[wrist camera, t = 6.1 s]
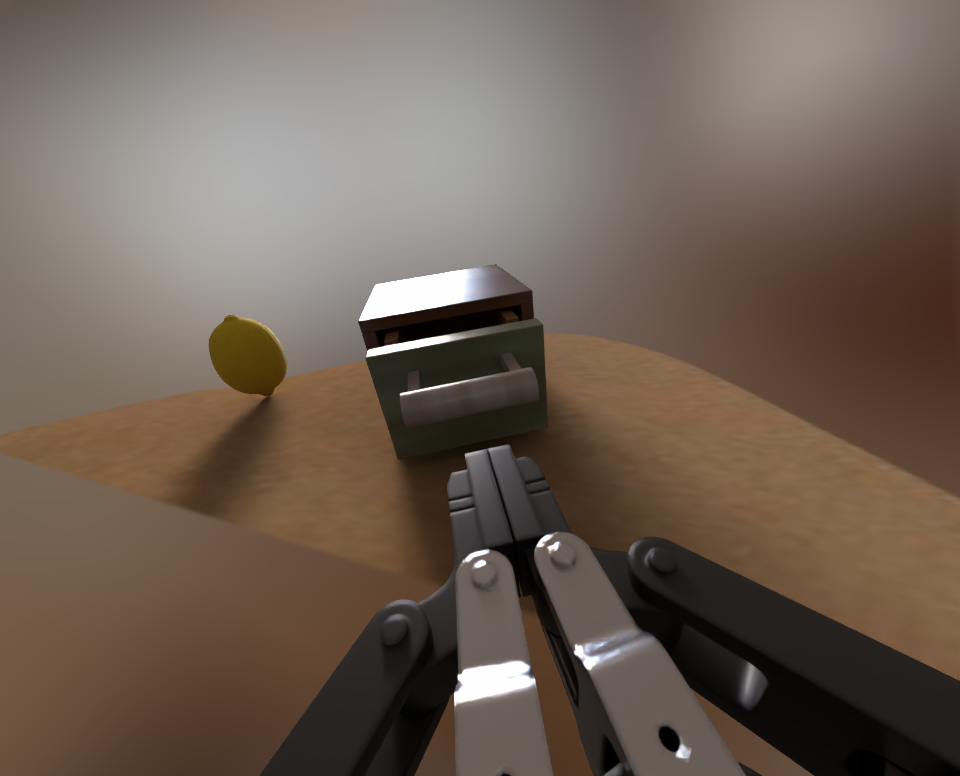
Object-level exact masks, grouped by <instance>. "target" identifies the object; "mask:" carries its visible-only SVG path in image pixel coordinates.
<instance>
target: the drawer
mask: <svg viewBox="0 0 960 776" xmlns="http://www.w3.org/2000/svg"><path fill="white" fill-rule="evenodd" d="M384 344H385V346H384V347H379V348H374V349H369V350H368V352H367V355H366V361H367V364H368V368H369V371H370V374H371V377H372V380H373V383H374V386H375V389H376V392H377V395H378V398H379V402H380V405H381V408H382V411H383V414H384V417H385V420H386V423H387V426H388V429H389V432H390V435H391V439H392V442H393V445H394V448H395V451H396V454H397V457H398V459H404V458H409V457H413V456H418V455H423V454H427V453H432V452H436V451H441V450H446V449H450V448H455V447H460V446H464V445H469V444H474V443H478V442H483V441H488V440H492V439H497V438H501V437H506V436H511V435H515V434H520V433H525V432H529V431H534V430H539V429H543V428H547V427H548V419H547V398H546V376H545V354H544V333H543V324H542V323H541V322H540V321H539V320H537V319H536V318H534V319H529V320H523V321H518V317H517V315H516V314H515V313H514V312H513V311H512V310H511V309H510V308H509V307H506V308H500V309H495V310H489V311H484V312H478V313H473V314H467V315H462V316H457V317H451V318H446V319H440V320H435V321H429V322H424V323H418V324H413V325H407V326H402V327H396V328H391V329H387V330H386V335H385V340H384Z"/></svg>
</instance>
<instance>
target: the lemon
mask: <svg viewBox="0 0 960 776" xmlns="http://www.w3.org/2000/svg"><path fill="white" fill-rule="evenodd" d="M209 352H210V356H211V360H212V363H213V365H214V368H215V370H216V371H217V373H218V374H219V376H220V377H221V378H222V380H223V381H224V382H225V383H226V384H228V385H229V386H230V387H232V388H234V389H235V390H237V391H240V392H243V393H247V394H260V395H263V396H270V395H272V394H273V391H274V389H275V387H277V386H278V385H279V384H280V383H281V382H282V381H283V379H284V377H285V375H286V371H287V361H286V356H285V352H284V350H283V347H282V345H281V343H280V342H279V340H278V339H277V337H276V336H275V335H274V334H273V332H272V331H271V330H270V329H269V328H268V327H266V326H265V325H263V324H261V323H259V322H257V321H255V320H252V319H248V318H239V317H237V316H235V315H229V316H226V317H225V319H224V321H223V322H222V323H221V324H220V325H218V326H217V327H216V328H215V329H214V331H213V332H212V334H211V336H210V339H209Z"/></svg>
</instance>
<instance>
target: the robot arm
mask: <svg viewBox="0 0 960 776" xmlns="http://www.w3.org/2000/svg"><path fill="white" fill-rule="evenodd" d="M487 451H488V454H487ZM487 451H486V449H484V450H479V451H475V452H470V453H465V459H466V464H467V470H463V471H458V472H454V473H451V476H450V478H449V481H448V484H447V494H448V501H449V502H448V503H449V511H450V520H451V528H452V537H453V545H454V554H455V564H454V568H453V572H452V574H451V576H450V578H449V579H448V581H447V582H446V583H445V584H444V586H442V587H441V588H440V589H439V590H438V591H436V592H435V593H434V594H432V595H430V596H429V597H427V598H426V599H424V600H423V601H421V602H419V603H418V604H417V603H415V602H413V601H410V600H398V601H394V602H392V603H390V604H388V605H386V606H384V607H383V608H382V609H380V611H378V612H377V613H376V614H375V616H374V617H373V618H372V619H371V621H370V622H369V624H368V625H367V626H366V628H365V629H364V630H363V632H362V633H361V635H360V636H359V637H358V639H357V640H356V642H355V643H354V644H353V646H352V647H351V649H350V650H349V651H348V653H347V654H346V656H345V657H344V658H343V660H342V661H341V663H340V664H339V665H338V667H337V668H336V670H335V671H334V672H333V674H332V675H331V677H330V678H329V679H328V681H327V682H326V684H325V685H324V686H323V688H322V689H321V691H320V692H319V693H318V695H317V696H316V698H315V699H314V700H313V702H312V703H311V704H310V706H309V707H308V709H307V710H306V712H305V713H304V714H303V716H302V717H301V718H300V720H299V721H298V723H297V724H296V726H295V727H294V728H293V730H292V731H291V732H290V734H289V735H288V737H287V738H286V739H285V741H284V742H283V744H282V745H281V746H280V748H279V749H278V751H277V752H276V753H275V755H274V756H273V757H272V759H271V760H270V762H269V763H268V764H267V766H266V767H265V769H264V770H263V772H262V773H261V774H260V776H414V774H415V773H416V771H417V768H418V766H419V764H420V762H421V760H422V758H423V755H424V753H425V751H426V749H427V747H428V745H429V743H430V740H431V738H432V736H433V734H434V732H435V730H436V728H437V725H438V723H439V721H440V719H441V717H442V714H443V713H444V710H445V708H446V706H447V703H448V701H449V697H450V696H451V695H452V694H453V693H455V703H454V709H455V710H454V711H455V756H456V776H554V775H553V770H552V765H551V760H550V755H549V749H548V745H547V739H546V734H545V729H544V723H543V718H542V713H541V708H540V703H539V697H538V692H537V687H536V682H535V678H534V673H533V670H532V666H531V661H530V656H529V650H528V645H527V640H526V635H525V630H524V624H523V619H522V614H521V608H520V603H519V598H520V597H521V595H520V588H519V584H520V587H521V591H522V594H523V597H524V596H528V595H532V598H533V601H534V604H535V607H536V611H537V614H538V617H539V619H540V623H541V626H542V629H543V632H544V634H545V637H546V639H547V642H548V645H549V648H550V650H551V653H552V655H553V658H554V661H555V663H556V666H557V669H558V671H559V674H560V676H561V679H562V682H563V685H564V687H565V690H566V692H567V695H568V698H569V700H570V703H571V706H572V708H573V711H574V714H575V718H576V721H577V725H578V729H579V733H580V737H581V740H582V743H583V746H584V750H585V753H586V755H587V758H588V761H589V764H590V767H591V769H592V772H593V774H594V776H761V775H760V774H758V773H757V772H755V771H754V770H752V769H750V768H749V767H747V766H745V765H743V764H741V763H739V762H737V761H736V759H735V758H734V756H733V755H732V753H731V752H730V750H729V748H728V747H727V745H726V744H725V742H724V740H723V739H722V737H721V736H720V734H719V733H718V731H717V730H716V728H715V727H714V725H713V723H712V722H711V720H710V719H709V717H708V715H707V714H706V712H705V711H704V709H703V708H702V706H701V705H700V703H699V702H698V700H697V698H696V697H695V695H694V694H693V692H692V690H691V689H693V690H694V691H695V692H697V693H698V694H700V695H701V696H703V697H704V698H705V699H707V700H708V701H710V702H711V703H712V704H714V705H715V706H717V707H718V708H719V709H721V710H722V711H724V712H725V713H727V714H728V715H729V716H731V717H732V718H734V719H735V720H737V721H738V722H739V723H741V724H742V725H743V726H745V727H746V728H748V729H749V730H751V731H752V732H753V733H755V734H756V735H758V736H759V737H760V738H762V739H763V740H765V741H766V742H767V743H769V744H770V745H772V746H773V747H775V748H776V749H777V750H779V751H780V752H782V753H783V754H785V755H786V756H787V757H789V758H790V759H792V760H793V761H794V762H796V763H797V764H799V765H800V766H801V767H803V768H804V769H806V770H807V771H808V772H810V773H811V774H813V775H814V776H960V681H959V680H957V679H955V678H952V677H950V676H948V675H946V674H944V673H942V672H940V671H938V670H936V669H934V668H932V667H930V666H928V665H926V664H923V663H921V662H919V661H917V660H915V659H913V658H911V657H909V656H907V655H905V654H903V653H901V652H899V651H897V650H894V649H892V648H890V647H888V646H886V645H884V644H882V643H880V642H878V641H876V640H874V639H872V638H870V637H868V636H865V635H863V634H861V633H859V632H857V631H855V630H853V629H851V628H849V627H847V626H845V625H843V624H841V623H839V622H837V621H834V620H832V619H830V618H828V617H826V616H824V615H822V614H820V613H818V612H816V611H814V610H812V609H810V608H808V607H805V606H803V605H801V604H799V603H797V602H795V601H793V600H791V599H789V598H787V597H785V596H783V595H781V594H779V593H776V592H774V591H772V590H770V589H768V588H766V587H764V586H762V585H760V584H758V583H756V582H754V581H752V580H750V579H747V578H745V577H743V576H741V575H739V574H737V573H735V572H733V571H731V570H729V569H727V568H725V567H723V566H721V565H719V564H716V563H714V562H712V561H710V560H708V559H706V558H704V557H702V556H700V555H698V554H696V553H694V552H692V551H690V550H687V549H685V548H683V547H681V546H679V545H677V544H675V543H673V542H671V541H668V540H666V539H662V538H658V537H645V538H642V539H639V540H637V541H636V542H635V543H633V545H632V546H631V547H630V550H629V552H621V551H607V550H599V549H595V548H593V547H590V546H588V545H587V544H586V543H585V542H584V541H583V540H582V539H581V538H579V537H578V536H576V535H574V534H573V533H572V531H571V530H570V528H569V526H568V524H567V522H566V519H565V517H564V515H563V513H562V511H561V509H560V507H559V505H558V503H557V501H556V499H555V497H554V495H553V493H552V491H551V490H550V486H549V484H548V482H547V480H546V479H545V476H544V474H543V472H542V470H541V468H540V466H539V465H538V464H537V463H536V462H535V461H533V460H532V459H531V458H530V457H528V456H526V457H522V458H517V459H515V457H514V455H513V452H512V450H511V447H510V445H509V444H507V445H503V446H498V447H493V448H489V449H487ZM690 688H691V689H690Z"/></svg>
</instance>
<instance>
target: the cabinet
mask: <svg viewBox="0 0 960 776" xmlns="http://www.w3.org/2000/svg"><path fill="white" fill-rule="evenodd" d="M532 302H533V297H532V290H531V289H530V288H528V287H527V286H525V285H524V284H523V283H521V282H520V281H518V280H517V279H515V278H514V277H513V276H511V275H510V274H509V273H507V272H506V271H504V270H503V269H502V268H500V267H499V266H497V265H496V264H495V265H490V266H484V267H477V268H472V269H466V270H460V271H454V272H448V273H442V274H437V275H431V276H425V277H419V278H414V279H408V280H402V281H396V282H390V283H384V284H378V285H376V286H375V287H374V290H373V292H372V294H371V296H370V298H369V300H368V303H367V304H366V306H365V309H364V311H363V313H362V315H361V317H360V319H359V321H358V323H359V325H360V329H361V332H362V333H363V334H362V335H363V338H364V342H365V345H366V348H367V351H368V350H369V349H374V348H379V347H384V346H385V344H384V340H385V335H386V330H387V329H391V328H396V327H402V326H407V325H413V324H418V323H424V322H429V321H435V320H440V319H446V318H451V317H457V316H462V315H467V314H473V313H478V312H484V311H489V310H495V309H500V308H506V307H509V308H510V309H511V310H512V311H513V312H514V313H515V314H516V315H517V317H518V321H523V320H529V319H534V312H533V303H532Z"/></svg>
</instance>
